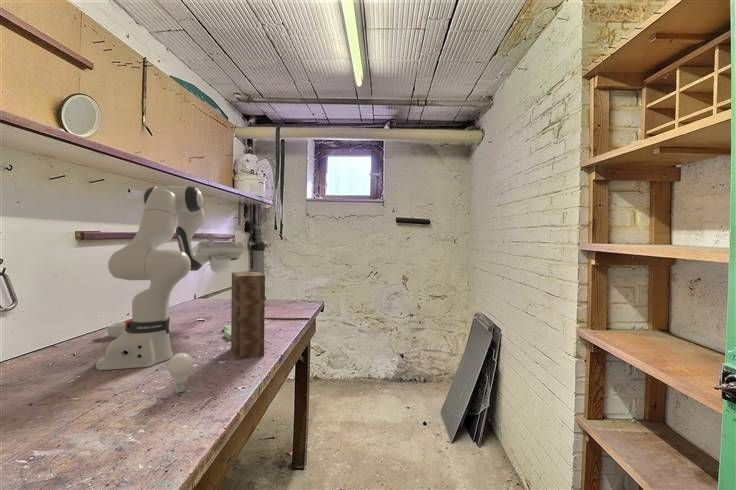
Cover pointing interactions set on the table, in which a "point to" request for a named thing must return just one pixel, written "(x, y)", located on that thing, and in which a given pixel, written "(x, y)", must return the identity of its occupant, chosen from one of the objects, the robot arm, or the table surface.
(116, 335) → the teacup
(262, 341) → the upright wooden block
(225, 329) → the pale green stepped block
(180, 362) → the lightbulb
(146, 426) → the table surface
